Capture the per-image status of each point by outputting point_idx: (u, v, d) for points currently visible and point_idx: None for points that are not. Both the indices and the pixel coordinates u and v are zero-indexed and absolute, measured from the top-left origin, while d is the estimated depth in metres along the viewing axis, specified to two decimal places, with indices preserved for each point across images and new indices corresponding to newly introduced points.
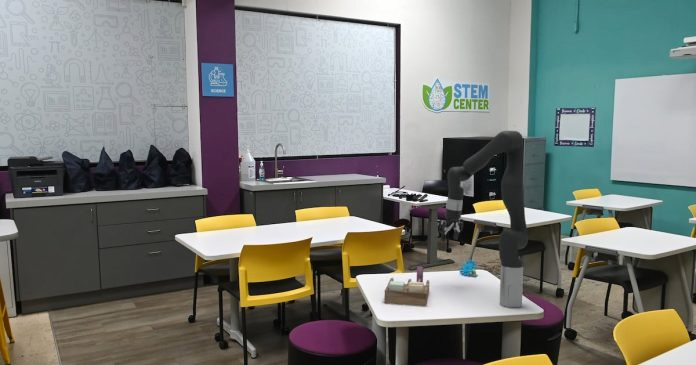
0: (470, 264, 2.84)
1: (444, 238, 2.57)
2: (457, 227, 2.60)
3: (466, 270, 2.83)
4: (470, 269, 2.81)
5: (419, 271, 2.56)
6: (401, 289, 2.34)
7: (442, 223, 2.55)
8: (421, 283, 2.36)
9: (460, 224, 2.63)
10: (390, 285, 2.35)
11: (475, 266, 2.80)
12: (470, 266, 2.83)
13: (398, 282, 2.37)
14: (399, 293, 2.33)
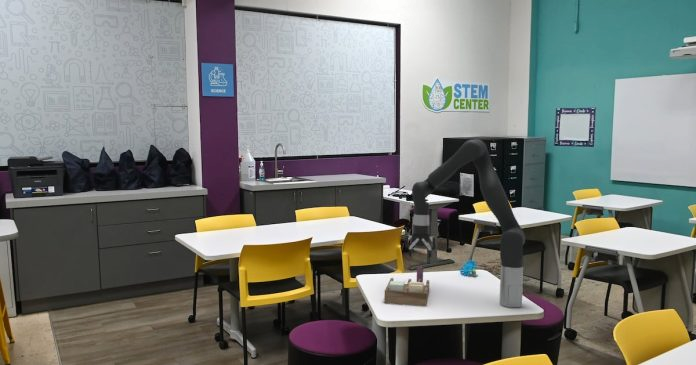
0: (470, 264, 2.84)
1: (410, 253, 2.57)
2: (425, 244, 2.54)
3: (466, 270, 2.83)
4: (470, 269, 2.81)
5: (419, 271, 2.56)
6: (401, 289, 2.34)
7: (406, 237, 2.57)
8: (421, 283, 2.36)
9: None
10: (390, 285, 2.35)
11: (475, 266, 2.80)
12: (470, 266, 2.83)
13: (398, 282, 2.37)
14: (399, 293, 2.33)
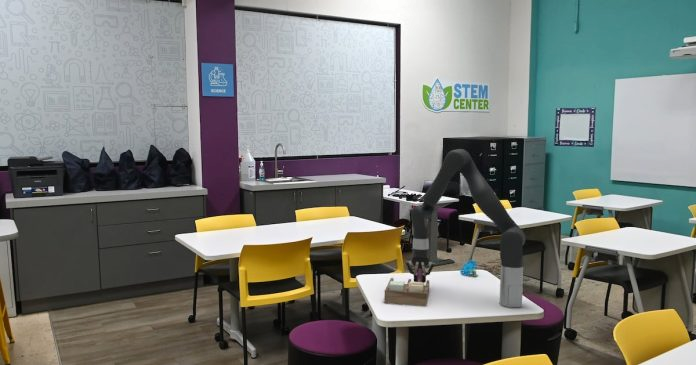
0: (471, 264, 2.84)
1: (415, 279, 2.57)
2: (422, 268, 2.55)
3: (466, 270, 2.83)
4: (470, 269, 2.81)
5: (419, 271, 2.56)
6: (401, 289, 2.34)
7: None
8: (421, 283, 2.36)
9: (429, 268, 2.56)
10: (390, 285, 2.35)
11: (475, 266, 2.80)
12: (471, 266, 2.83)
13: (398, 282, 2.37)
14: (399, 293, 2.33)
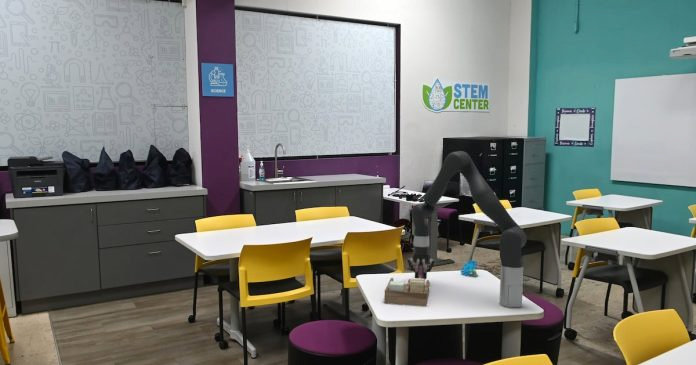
0: (471, 264, 2.84)
1: (416, 276, 2.63)
2: (423, 265, 2.61)
3: (467, 270, 2.83)
4: (471, 269, 2.81)
5: (420, 267, 2.62)
6: (401, 289, 2.34)
7: None
8: (422, 279, 2.42)
9: (430, 264, 2.62)
10: (390, 285, 2.35)
11: None
12: (471, 266, 2.83)
13: (398, 282, 2.37)
14: (399, 293, 2.33)
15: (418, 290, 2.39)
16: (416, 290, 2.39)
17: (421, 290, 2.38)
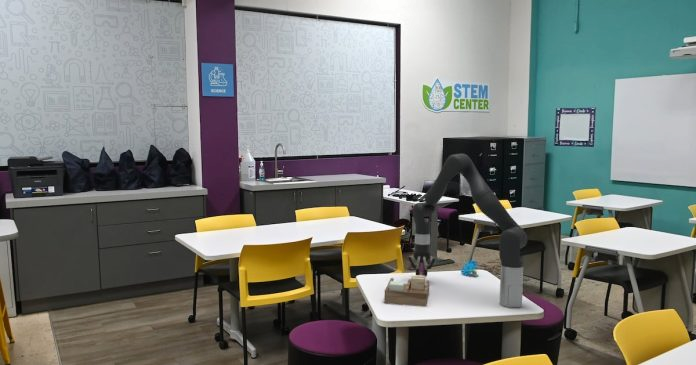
0: (471, 264, 2.84)
1: (417, 273, 2.69)
2: (424, 262, 2.67)
3: (467, 270, 2.83)
4: (471, 269, 2.81)
5: (421, 265, 2.67)
6: (401, 289, 2.34)
7: None
8: (423, 276, 2.48)
9: (431, 262, 2.67)
10: (390, 285, 2.35)
11: None
12: (471, 266, 2.83)
13: (398, 282, 2.37)
14: (399, 293, 2.33)
15: (419, 287, 2.44)
16: (417, 287, 2.44)
17: (422, 287, 2.44)
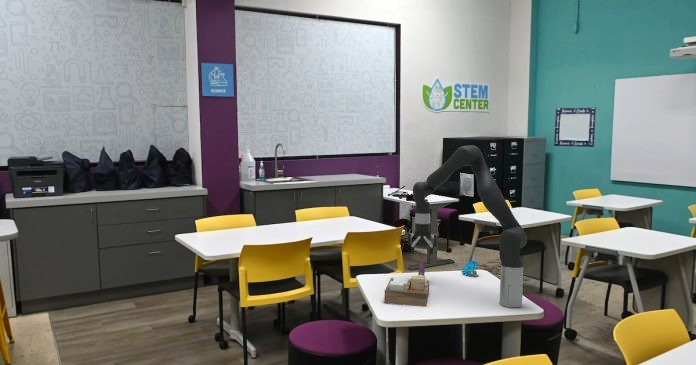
0: (472, 264, 2.84)
1: (412, 250, 2.68)
2: (427, 241, 2.66)
3: (467, 270, 2.83)
4: (471, 269, 2.81)
5: (421, 265, 2.67)
6: (401, 289, 2.34)
7: None
8: (423, 276, 2.48)
9: (434, 239, 2.66)
10: (390, 285, 2.35)
11: (476, 266, 2.80)
12: (472, 266, 2.83)
13: (398, 282, 2.37)
14: (399, 293, 2.33)
15: (419, 287, 2.44)
16: (417, 287, 2.44)
17: (422, 287, 2.44)
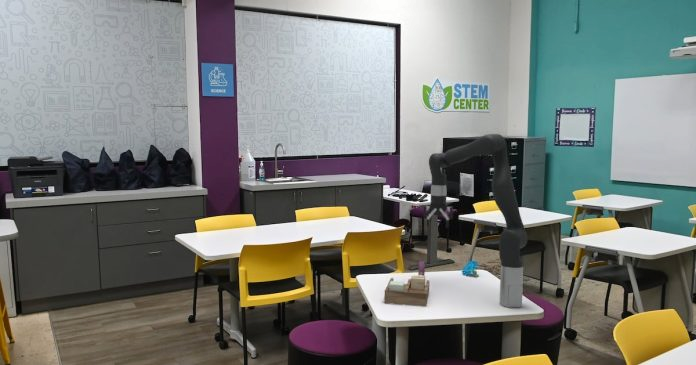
0: (472, 264, 2.84)
1: (428, 223, 2.64)
2: (443, 214, 2.62)
3: (468, 270, 2.83)
4: (471, 269, 2.81)
5: (421, 265, 2.67)
6: (401, 289, 2.34)
7: (424, 208, 2.65)
8: (423, 276, 2.48)
9: (450, 212, 2.62)
10: (390, 285, 2.35)
11: (476, 266, 2.80)
12: (472, 266, 2.83)
13: (398, 282, 2.37)
14: (399, 293, 2.33)
15: (419, 287, 2.44)
16: (417, 287, 2.44)
17: (422, 287, 2.44)
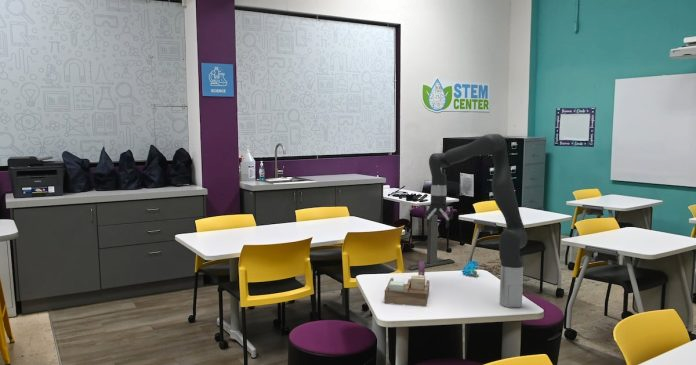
0: (472, 264, 2.84)
1: (428, 223, 2.64)
2: (443, 214, 2.62)
3: (468, 270, 2.83)
4: (471, 269, 2.81)
5: (421, 265, 2.67)
6: (401, 289, 2.34)
7: (424, 208, 2.65)
8: (423, 276, 2.48)
9: (450, 212, 2.62)
10: (390, 285, 2.35)
11: (476, 266, 2.80)
12: (472, 266, 2.83)
13: (398, 282, 2.37)
14: (399, 293, 2.33)
15: (419, 287, 2.44)
16: (417, 287, 2.44)
17: (422, 287, 2.44)
